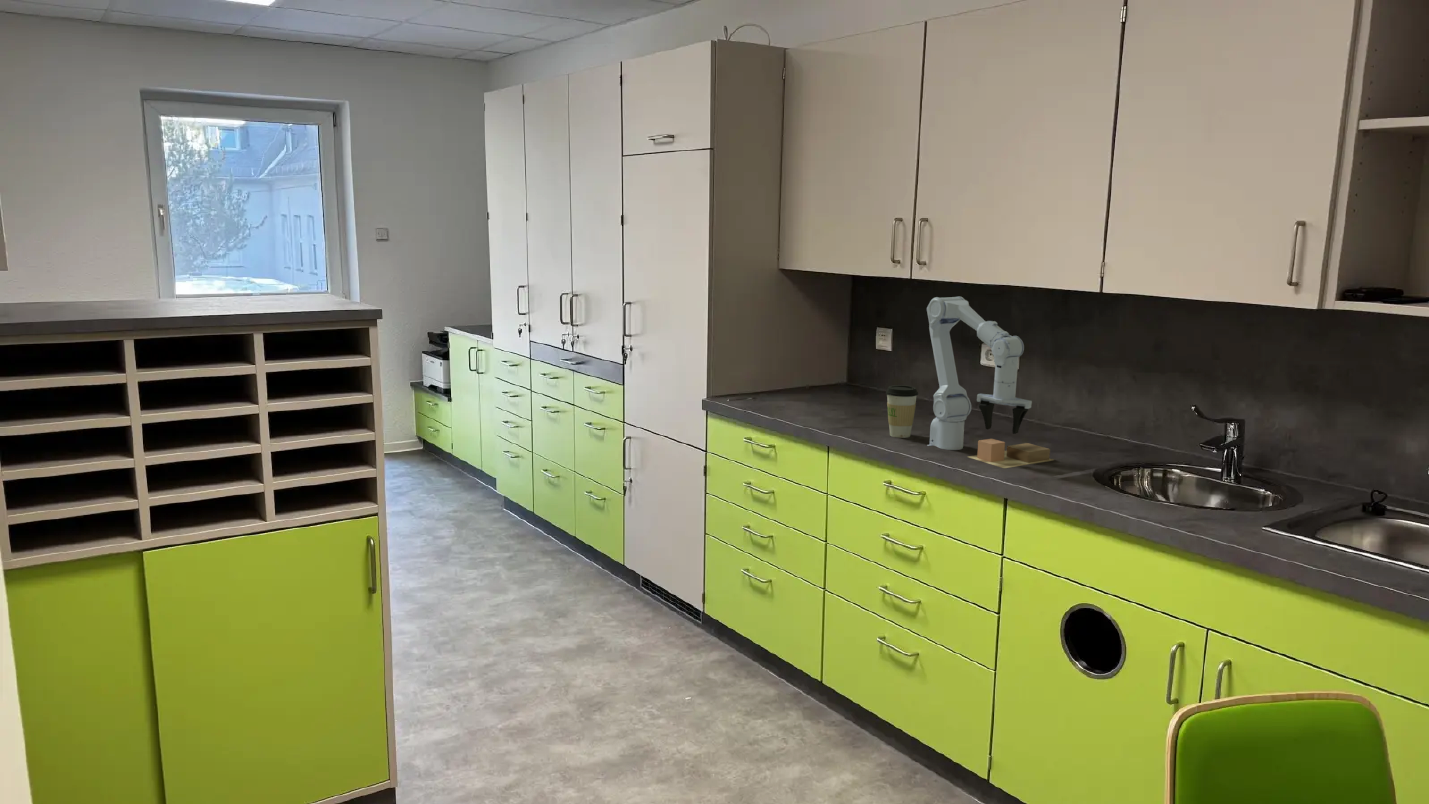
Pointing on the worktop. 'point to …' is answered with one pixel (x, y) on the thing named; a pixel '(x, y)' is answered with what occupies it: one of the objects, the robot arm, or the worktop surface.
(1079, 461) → the worktop surface
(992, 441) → the cube
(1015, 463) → the stacking base
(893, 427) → the coffee cup
